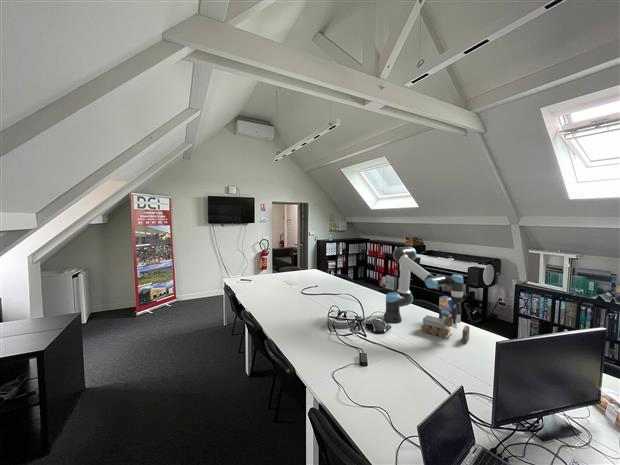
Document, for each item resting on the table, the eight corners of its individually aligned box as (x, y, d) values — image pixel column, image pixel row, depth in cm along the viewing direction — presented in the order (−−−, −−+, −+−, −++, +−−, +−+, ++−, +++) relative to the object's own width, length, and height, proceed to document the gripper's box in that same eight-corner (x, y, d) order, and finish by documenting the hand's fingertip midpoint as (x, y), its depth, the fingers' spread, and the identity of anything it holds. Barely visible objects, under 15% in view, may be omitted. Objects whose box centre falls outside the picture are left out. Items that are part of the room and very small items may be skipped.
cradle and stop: (446, 338, 186) (447, 325, 185) (450, 334, 193) (450, 321, 193) (466, 344, 178) (466, 330, 177) (469, 339, 185) (469, 326, 184)
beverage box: (452, 326, 207) (452, 300, 206) (438, 322, 216) (439, 297, 215) (455, 324, 211) (456, 298, 210) (442, 320, 220) (443, 295, 219)
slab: (422, 323, 197) (422, 318, 197) (427, 319, 205) (427, 315, 204) (445, 329, 186) (445, 324, 186) (448, 325, 194) (448, 320, 194)
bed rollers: (446, 339, 186) (446, 331, 185) (421, 331, 198) (421, 324, 198) (450, 333, 194) (450, 326, 194) (425, 327, 206) (425, 320, 206)
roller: (453, 321, 182) (445, 317, 186) (451, 328, 183) (443, 324, 187) (457, 316, 190) (448, 313, 194) (455, 323, 191) (446, 320, 195)
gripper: (459, 300, 173) (458, 331, 175) (466, 293, 191) (465, 321, 192) (447, 298, 179) (446, 328, 180) (455, 291, 196) (454, 319, 197)
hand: (456, 325), depth 186 cm, fingers closed on roller, 11 cm apart
